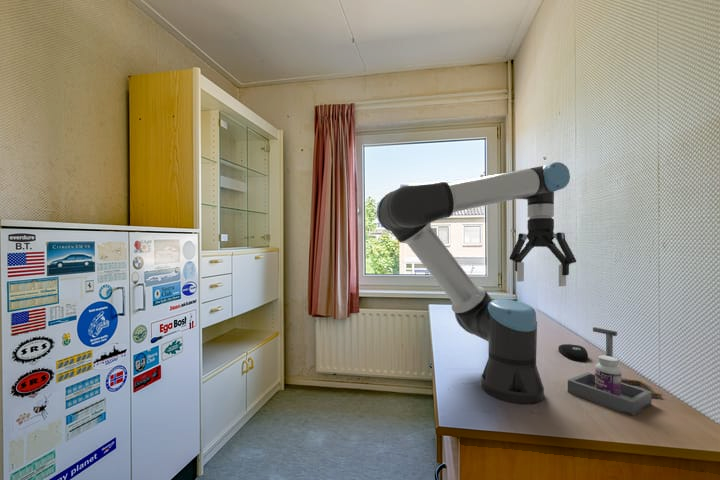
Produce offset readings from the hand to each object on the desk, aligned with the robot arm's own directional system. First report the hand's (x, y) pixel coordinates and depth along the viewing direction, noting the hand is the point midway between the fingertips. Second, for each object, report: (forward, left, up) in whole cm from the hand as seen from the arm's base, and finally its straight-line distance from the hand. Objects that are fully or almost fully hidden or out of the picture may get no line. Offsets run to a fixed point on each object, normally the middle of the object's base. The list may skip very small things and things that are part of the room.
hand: (540, 283), depth 104 cm
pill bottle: (-6, -21, -26) cm, 34 cm away
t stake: (+13, -14, -27) cm, 33 cm away
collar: (+6, -22, -27) cm, 35 cm away
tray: (-6, -21, -27) cm, 34 cm away
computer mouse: (+21, 0, -27) cm, 34 cm away
